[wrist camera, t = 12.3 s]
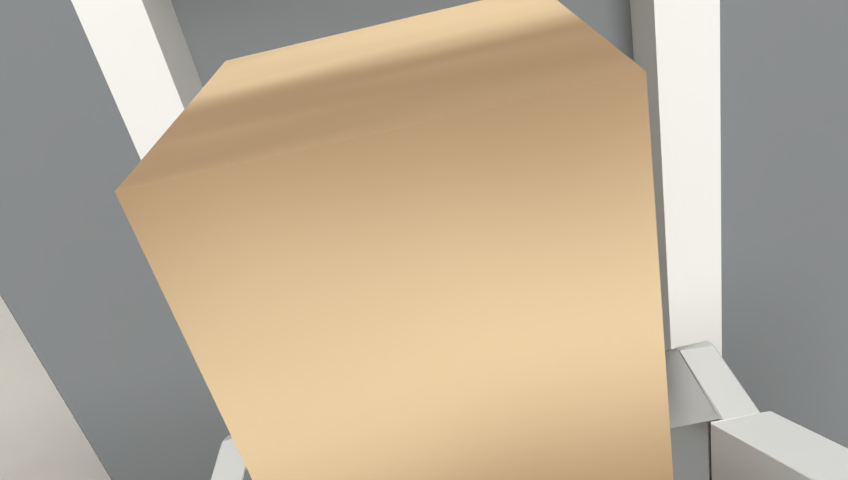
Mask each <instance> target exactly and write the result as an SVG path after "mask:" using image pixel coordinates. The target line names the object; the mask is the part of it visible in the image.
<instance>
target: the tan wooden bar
mask: <svg viewBox="0 0 848 480" xmlns="http://www.w3.org/2000/svg"><path fill="white" fill-rule="evenodd" d="M115 193H116V195H117V198H118V200H119V202H120V204H121V206H122V208H123V210H124V212H125V214H126V216H127V218H128V221H129V223H130V225H131V227H132V229H133V231H134V233H135V235H136V237H137V239H138V241H139V244H140V246H141V248H142V250H143V252H144V254H145V256H146V258H147V260H148V262H149V265H150V267H151V269H152V271H153V273H154V275H155V277H156V279H157V281H158V283H159V285H160V288H161V290H162V292H163V294H164V296H165V298H166V300H167V302H168V304H169V306H170V308H171V311H172V313H173V315H174V317H175V319H176V321H177V323H178V325H179V327H180V329H181V332H182V334H183V336H184V338H185V340H186V342H187V344H188V346H189V348H190V350H191V352H192V355H193V357H194V359H195V361H196V363H197V365H198V367H199V369H200V371H201V373H202V375H203V378H204V380H205V382H206V384H207V386H208V388H209V390H210V392H211V394H212V396H213V399H214V401H215V403H216V405H217V407H218V409H219V411H220V413H221V415H222V417H223V419H224V422H225V424H226V426H227V428H228V430H229V432H230V434H231V436H232V438H233V440H234V442H235V445H236V447H237V449H238V451H239V453H240V455H241V457H242V459H243V461H244V463H245V466H246V468H247V470H248V472H249V474H250V476H251V478H252V480H673V465H672V450H671V435H670V420H669V405H668V390H667V375H666V360H665V345H664V330H663V315H662V300H661V285H660V270H659V255H658V241H657V226H656V211H655V196H654V181H653V166H652V151H651V136H650V121H649V106H648V91H647V76H646V71H645V70H644V69H643V68H641V67H640V66H639V65H638V64H636V63H635V62H634V61H633V60H631V59H630V58H629V57H628V56H626V55H625V54H624V53H623V52H621V51H620V50H619V49H618V48H616V47H615V46H614V45H613V44H611V43H610V42H609V41H608V40H606V39H605V38H604V37H603V36H601V35H600V34H599V33H598V32H596V31H595V30H594V29H593V28H591V27H590V26H589V25H588V24H586V23H585V22H584V21H582V20H581V19H580V18H579V17H577V16H576V15H575V14H574V13H572V12H571V11H570V10H569V9H567V8H566V7H565V6H564V5H562V4H561V3H560V2H559V1H557V0H480V1H476V2H472V3H468V4H463V5H459V6H455V7H451V8H446V9H442V10H438V11H434V12H430V13H425V14H421V15H417V16H413V17H408V18H404V19H400V20H396V21H391V22H387V23H383V24H379V25H375V26H370V27H366V28H362V29H358V30H353V31H349V32H345V33H341V34H337V35H332V36H328V37H324V38H320V39H315V40H311V41H307V42H303V43H298V44H294V45H290V46H286V47H282V48H277V49H273V50H269V51H265V52H260V53H256V54H252V55H248V56H243V57H239V58H235V59H231V60H227V61H225V62H224V63H223V65H222V66H221V67H220V68H219V69H218V70H217V72H216V73H215V74H214V75H213V76H212V78H211V79H210V80H209V81H208V82H207V83H206V85H205V86H204V87H203V88H202V89H201V90H200V92H199V93H198V94H197V95H196V96H195V98H194V99H193V100H192V101H191V102H190V103H189V105H188V106H187V107H186V108H185V109H184V110H183V112H182V113H181V114H180V115H179V116H178V118H177V119H176V120H175V121H174V122H173V123H172V125H171V126H170V127H169V128H168V129H167V130H166V132H165V133H164V134H163V135H162V136H161V138H160V139H159V140H158V141H157V142H156V143H155V145H154V146H153V147H152V148H151V149H150V150H149V152H148V153H147V154H146V155H145V156H144V158H143V159H142V160H141V161H140V162H139V163H138V165H137V166H136V167H135V168H134V169H133V170H132V172H131V173H130V174H129V175H128V176H127V178H126V179H125V180H124V181H123V182H122V183H121V185H120V186H119V187H118V188H117V189H116V190H115Z"/></svg>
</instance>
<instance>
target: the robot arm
mask: <svg viewBox="0 0 848 480" xmlns="http://www.w3.org/2000/svg"><path fill="white" fill-rule="evenodd" d="M665 360H666V375H667V390H668V405H669V420H670V435H671V450H672V465H673V480H848V448H846V447H844V446H842V445H840V444H838V443H836V442H834V441H831V440H829V439H827V438H825V437H823V436H821V435H819V434H817V433H815V432H813V431H811V430H809V429H807V428H805V427H803V426H801V425H798V424H796V423H794V422H792V421H790V420H788V419H786V418H784V417H782V416H780V415H778V414H776V413H774V412H772V411H767V412H762V413H760V412H759V410H758V409H757V407H756V406H755V404H754V403H753V401H752V400H751V399H750V397H749V396H748V394H747V393H746V391H745V390H744V388H743V387H742V386H741V384H740V383H739V381H738V380H737V378H736V377H735V375H734V374H733V372H732V371H731V370H730V368H729V367H728V365H727V364H726V362H725V361H724V359H723V358H722V357H721V355H720V354H719V352H718V351H717V349H716V348H715V346H714V345H713V344H712V343H710V342H709V341H703V342H699V343H694V344H689V345H685V346H680V347H676V348H674V349H669V350H665ZM211 480H252V478H251V476H250V474H249V472H248V470H247V468H246V466H245V463H244V461H243V459H242V457H241V455H240V453H239V451H238V449H237V447H236V445H235V442H234V440H233V438H232V436H231V435H228V436H227V437H226V438H225V439H224V440H223V442H222V443H221V446H220V450H219V453H218V457H217V460H216V463H215V467H214V470H213V474H212V477H211Z"/></svg>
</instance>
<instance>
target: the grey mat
mask: <svg viewBox="0 0 848 480" xmlns="http://www.w3.org/2000/svg"><path fill="white" fill-rule="evenodd" d="M476 1H480V0H0V295H1V297H2V299H3V300H4V302H5V304H6V305H7V307H8V309H9V310H10V312H11V314H12V315H13V317H14V319H15V320H16V322H17V324H18V325H19V327H20V329H21V330H22V332H23V333H24V335H25V337H26V338H27V340H28V342H29V343H30V345H31V347H32V348H33V350H34V352H35V353H36V355H37V357H38V358H39V360H40V362H41V363H42V365H43V367H44V368H45V370H46V372H47V373H48V375H49V377H50V378H51V380H52V382H53V383H54V385H55V387H56V388H57V390H58V392H59V393H60V395H61V397H62V398H63V400H64V402H65V403H66V405H67V407H68V408H69V410H70V412H71V413H72V415H73V417H74V418H75V420H76V422H77V423H78V425H79V427H80V428H81V430H82V431H83V433H84V435H85V436H86V438H87V440H88V441H89V443H90V445H91V446H92V448H93V450H94V451H95V453H96V455H97V456H98V458H99V460H100V461H101V463H102V465H103V466H104V468H105V470H106V471H107V473H108V475H109V476H110V478H111V480H211V477H212V474H213V470H214V467H215V463H216V460H217V457H218V453H219V450H220V446H221V443H222V442H223V440H224V439H225V438H226V437H227V436H228V435H231V434H230V432H229V430H228V428H227V426H226V424H225V422H224V419H223V417H222V415H221V413H220V411H219V409H218V407H217V405H216V403H215V401H214V399H213V396H212V394H211V392H210V390H209V388H208V386H207V384H206V382H205V380H204V378H203V375H202V373H201V371H200V369H199V367H198V365H197V363H196V361H195V359H194V357H193V355H192V352H191V350H190V348H189V346H188V344H187V342H186V340H185V338H184V336H183V334H182V332H181V329H180V327H179V325H178V323H177V321H176V319H175V317H174V315H173V313H172V311H171V308H170V306H169V304H168V302H167V300H166V298H165V296H164V294H163V292H162V290H161V288H160V285H159V283H158V281H157V279H156V277H155V275H154V273H153V271H152V269H151V267H150V265H149V262H148V260H147V258H146V256H145V254H144V252H143V250H142V248H141V246H140V244H139V241H138V239H137V237H136V235H135V233H134V231H133V229H132V227H131V225H130V223H129V221H128V218H127V216H126V214H125V212H124V210H123V208H122V206H121V204H120V202H119V200H118V198H117V195H116V193H115V190H116V189H117V188H118V187H119V186H120V185H121V183H122V182H123V181H124V180H125V179H126V178H127V176H128V175H129V174H130V173H131V172H132V170H133V169H134V168H135V167H136V166H137V165H138V163H139V162H140V161H141V160H142V159H143V158H144V156H145V155H146V154H147V153H148V152H149V150H150V149H151V148H152V147H153V146H154V145H155V143H156V142H157V141H158V140H159V139H160V138H161V136H162V135H163V134H164V133H165V132H166V130H167V129H168V128H169V127H170V126H171V125H172V123H173V122H174V121H175V120H176V119H177V118H178V116H179V115H180V114H181V113H182V112H183V110H184V109H185V108H186V107H187V106H188V105H189V103H190V102H191V101H192V100H193V99H194V98H195V96H196V95H197V94H198V93H199V92H200V90H201V89H202V88H203V87H204V86H205V85H206V83H207V82H208V81H209V80H210V79H211V78H212V76H213V75H214V74H215V73H216V72H217V70H218V69H219V68H220V67H221V66H222V65H223V63H224V62H225V61H227V60H231V59H235V58H239V57H243V56H248V55H252V54H256V53H260V52H265V51H269V50H273V49H277V48H282V47H286V46H290V45H294V44H298V43H303V42H307V41H311V40H315V39H320V38H324V37H328V36H332V35H337V34H341V33H345V32H349V31H353V30H358V29H362V28H366V27H370V26H375V25H379V24H383V23H387V22H391V21H396V20H400V19H404V18H408V17H413V16H417V15H421V14H425V13H430V12H434V11H438V10H442V9H446V8H451V7H455V6H459V5H463V4H468V3H472V2H476ZM557 1H559V2H560V3H561V4H562V5H564V6H565V7H566V8H567V9H569V10H570V11H571V12H572V13H574V14H575V15H576V16H577V17H579V18H580V19H581V20H582V21H584V22H585V23H586V24H588V25H589V26H590V27H591V28H593V29H594V30H595V31H596V32H598V33H599V34H600V35H601V36H603V37H604V38H605V39H606V40H608V41H609V42H610V43H611V44H613V45H614V46H615V47H616V48H618V49H619V50H620V51H621V52H623V53H624V54H625V55H626V56H628V57H629V58H630V59H631V60H633V61H634V62H635V63H636V64H638V65H639V66H640V67H641V68H643V69H644V70H645V71H646V76H647V91H648V106H649V121H650V136H651V151H652V166H653V181H654V196H655V211H656V226H657V241H658V255H659V270H660V285H661V300H662V315H663V330H664V345H665V350H669V349H674V348H676V347H680V346H685V345H689V344H694V343H699V342H703V341H709V342H710V343H712V344H713V345H714V346H715V348H716V349H717V351H718V352H719V354H720V355H721V357H722V358H723V359H724V361H725V362H726V364H727V365H728V367H729V368H730V370H731V371H732V372H733V374H734V375H735V377H736V378H737V380H738V381H739V383H740V384H741V386H742V387H743V388H744V390H745V391H746V393H747V394H748V396H749V397H750V399H751V400H752V401H753V403H754V404H755V406H756V407H757V409H758V410H759V412H760V413H762V412H767V411H772V412H774V413H776V414H778V415H780V416H782V417H784V418H786V419H788V420H790V421H792V422H794V423H796V424H798V425H801V426H803V427H805V428H807V429H809V430H811V431H813V432H815V433H817V434H819V435H821V436H823V437H825V438H827V439H829V440H831V441H834V442H836V443H838V444H840V445H842V446H844V447H846V448H848V0H557Z"/></svg>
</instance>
